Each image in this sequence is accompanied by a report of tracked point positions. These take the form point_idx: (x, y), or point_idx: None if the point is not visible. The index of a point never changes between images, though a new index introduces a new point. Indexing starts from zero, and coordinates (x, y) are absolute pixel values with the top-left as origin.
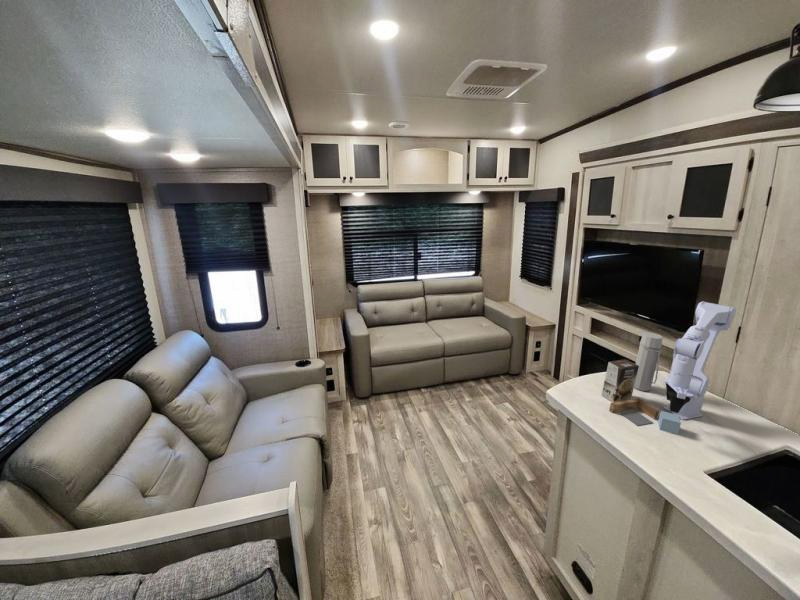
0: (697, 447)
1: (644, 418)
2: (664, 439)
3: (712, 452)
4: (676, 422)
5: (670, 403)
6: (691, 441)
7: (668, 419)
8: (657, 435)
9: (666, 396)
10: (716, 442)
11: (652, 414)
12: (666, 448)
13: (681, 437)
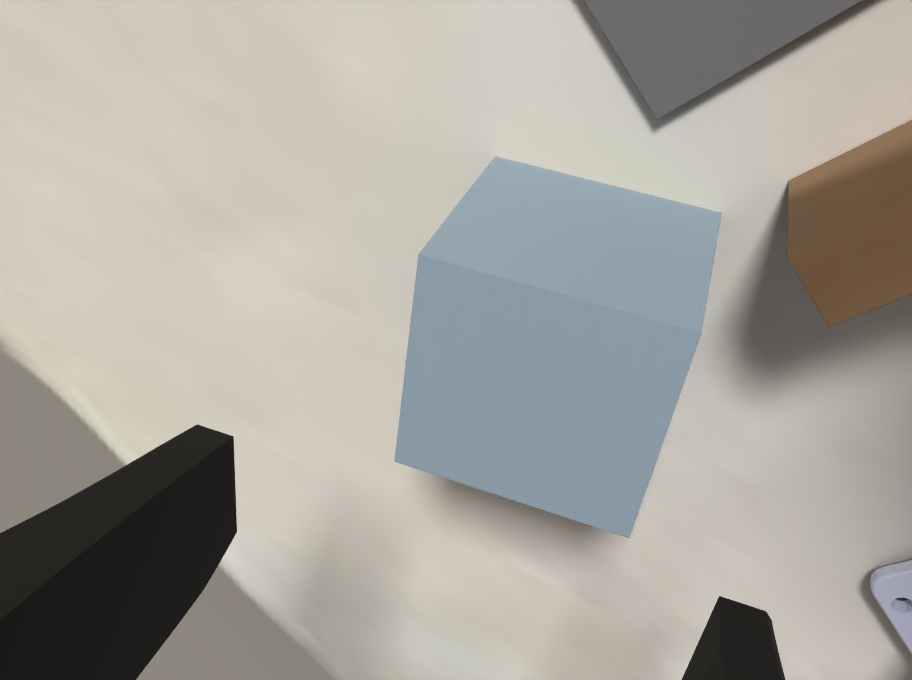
0: (304, 427)
1: (753, 3)
2: (277, 134)
3: (290, 510)
4: (401, 413)
5: (35, 536)
6: (390, 424)
7: (423, 332)
8: (327, 69)
9: (775, 663)
10: (482, 628)
11: (843, 184)
12: (94, 86)
13: None
